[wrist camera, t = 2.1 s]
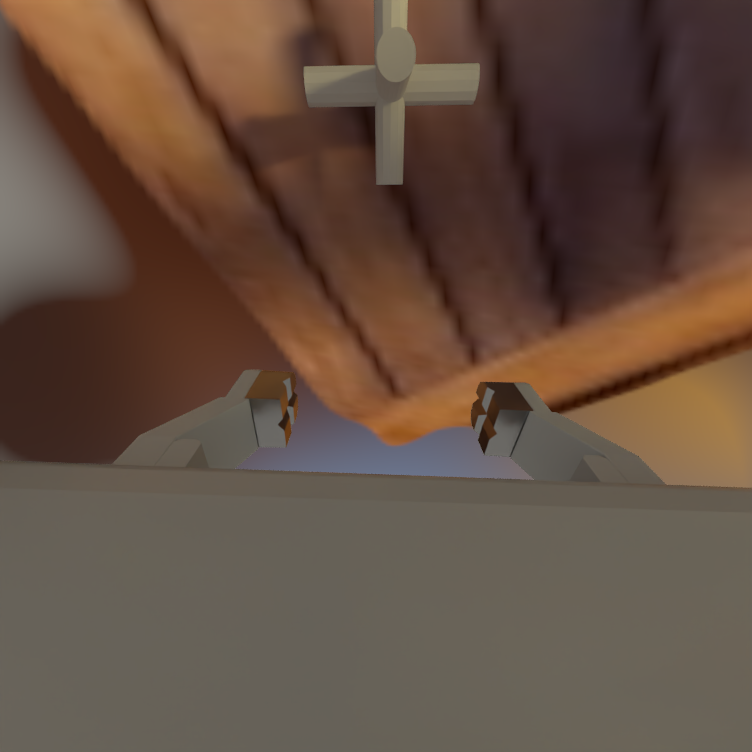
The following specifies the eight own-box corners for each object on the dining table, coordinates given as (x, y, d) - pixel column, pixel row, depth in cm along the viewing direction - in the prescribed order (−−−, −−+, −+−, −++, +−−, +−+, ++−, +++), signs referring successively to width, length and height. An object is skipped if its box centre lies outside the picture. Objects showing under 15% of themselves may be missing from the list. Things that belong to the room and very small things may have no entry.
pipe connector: (326, 185, 25) (302, 186, 17) (311, 5, 20) (264, -131, 11) (448, 183, 25) (486, 182, 17) (465, 2, 20) (533, -135, 11)
